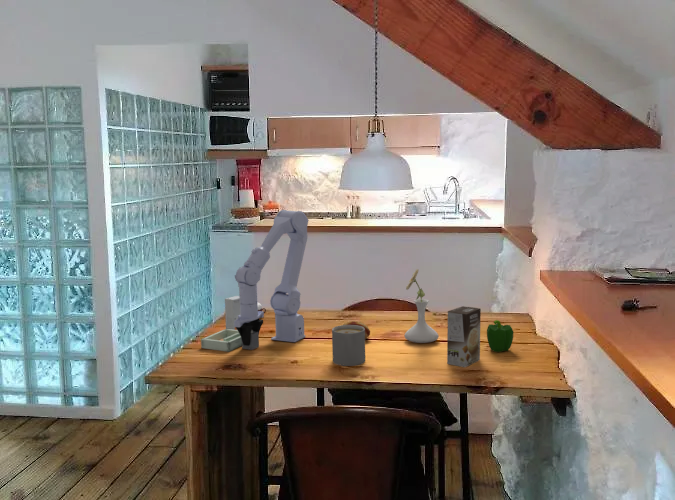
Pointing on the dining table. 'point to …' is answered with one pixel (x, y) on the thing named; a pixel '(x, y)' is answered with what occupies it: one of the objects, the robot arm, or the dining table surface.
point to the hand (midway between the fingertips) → (250, 343)
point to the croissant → (367, 331)
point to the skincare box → (232, 311)
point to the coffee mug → (348, 345)
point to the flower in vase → (420, 319)
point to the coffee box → (463, 336)
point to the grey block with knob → (252, 341)
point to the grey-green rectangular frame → (222, 340)
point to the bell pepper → (499, 336)
